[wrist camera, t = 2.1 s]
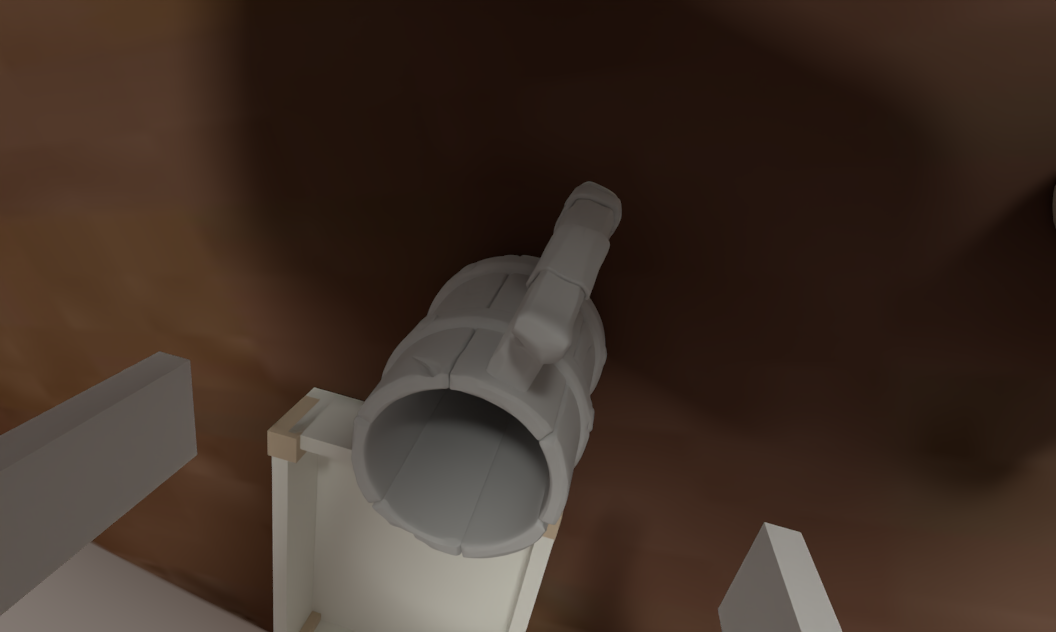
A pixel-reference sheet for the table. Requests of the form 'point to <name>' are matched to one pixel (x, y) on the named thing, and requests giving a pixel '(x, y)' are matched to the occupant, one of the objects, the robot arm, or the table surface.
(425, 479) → the mug
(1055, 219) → the pottery
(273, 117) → the table surface
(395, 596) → the crate
